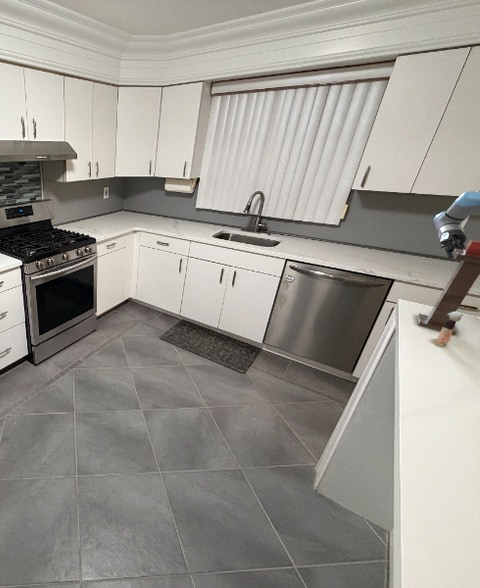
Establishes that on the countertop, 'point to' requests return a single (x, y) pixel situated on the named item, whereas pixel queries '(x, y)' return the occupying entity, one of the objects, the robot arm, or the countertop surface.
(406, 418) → the countertop surface
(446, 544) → the countertop surface
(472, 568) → the countertop surface
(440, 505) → the countertop surface
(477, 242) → the toy mallet
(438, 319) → the shelf stand
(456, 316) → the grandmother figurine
